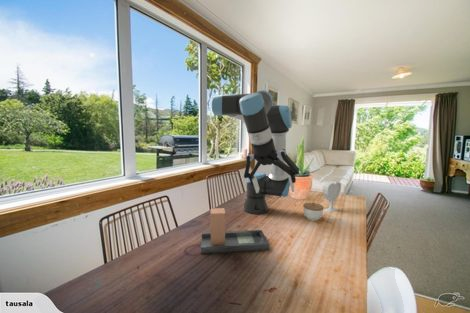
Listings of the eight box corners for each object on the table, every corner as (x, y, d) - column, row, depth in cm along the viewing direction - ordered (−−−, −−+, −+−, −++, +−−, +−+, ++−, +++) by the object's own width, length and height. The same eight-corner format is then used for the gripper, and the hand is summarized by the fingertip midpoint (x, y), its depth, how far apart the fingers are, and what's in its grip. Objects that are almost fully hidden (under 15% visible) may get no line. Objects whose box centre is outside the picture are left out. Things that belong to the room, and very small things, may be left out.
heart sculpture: (327, 213, 132) (329, 184, 130) (320, 210, 136) (321, 182, 134) (340, 208, 141) (342, 181, 139) (333, 206, 145) (335, 179, 143)
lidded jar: (323, 217, 126) (324, 201, 125) (322, 223, 116) (323, 207, 115) (304, 213, 130) (304, 198, 129) (301, 220, 120) (302, 204, 119)
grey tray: (200, 253, 86) (200, 247, 86) (201, 237, 99) (201, 232, 99) (268, 249, 89) (268, 244, 89) (261, 235, 102) (261, 230, 102)
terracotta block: (210, 245, 90) (210, 213, 88) (210, 238, 96) (210, 208, 94) (225, 245, 91) (225, 213, 89) (224, 238, 97) (224, 208, 95)
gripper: (225, 150, 75) (242, 197, 84) (298, 140, 65) (309, 195, 73) (231, 140, 81) (247, 185, 90) (300, 130, 71) (309, 182, 80)
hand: (275, 190), depth 82 cm, fingers open, 13 cm apart
